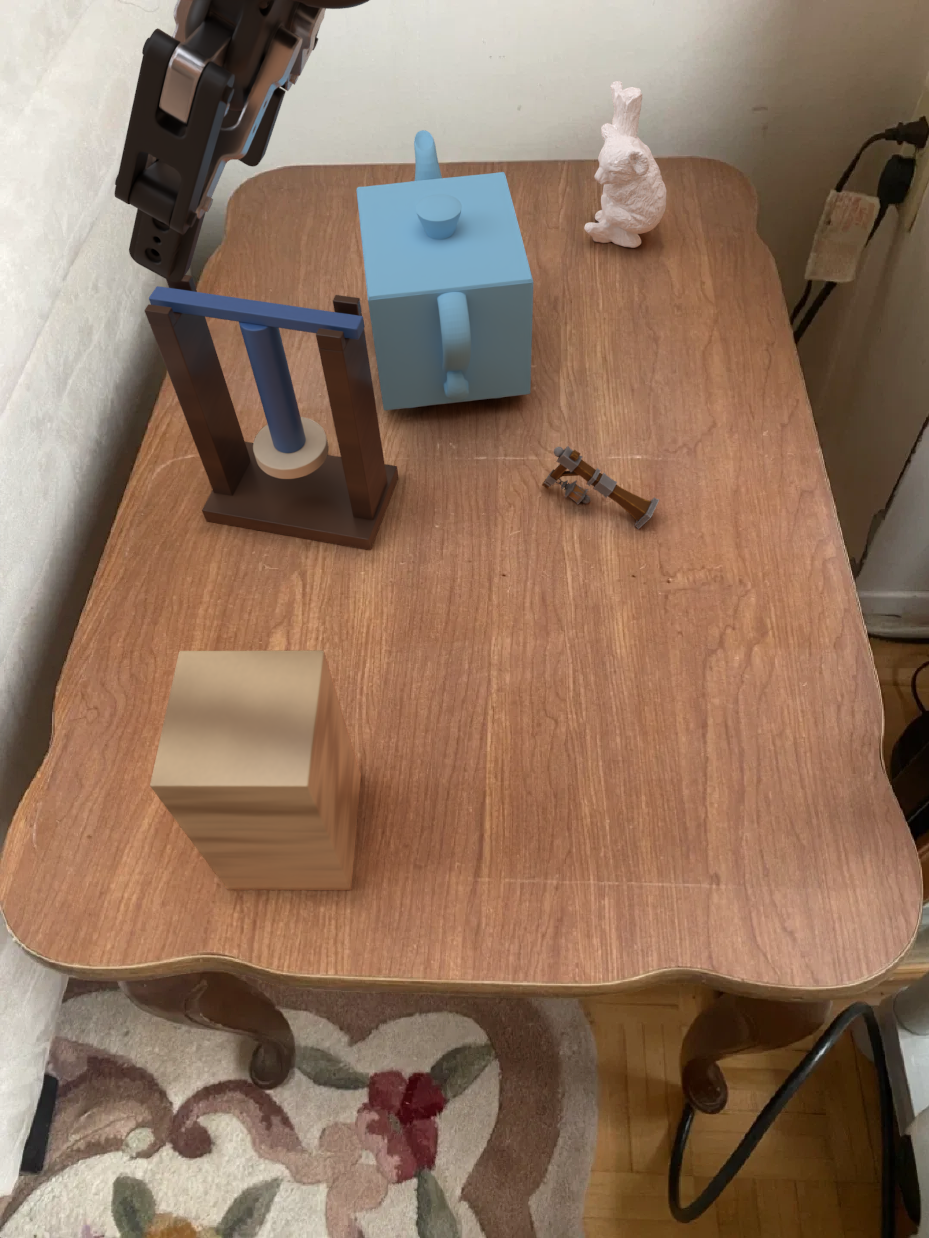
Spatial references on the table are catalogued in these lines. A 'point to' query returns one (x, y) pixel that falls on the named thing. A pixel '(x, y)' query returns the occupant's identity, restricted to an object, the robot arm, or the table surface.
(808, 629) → the table surface
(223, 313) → the bar
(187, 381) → the stand
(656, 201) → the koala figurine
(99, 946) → the table surface
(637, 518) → the hanging lantern post
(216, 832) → the riser
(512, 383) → the teapot
